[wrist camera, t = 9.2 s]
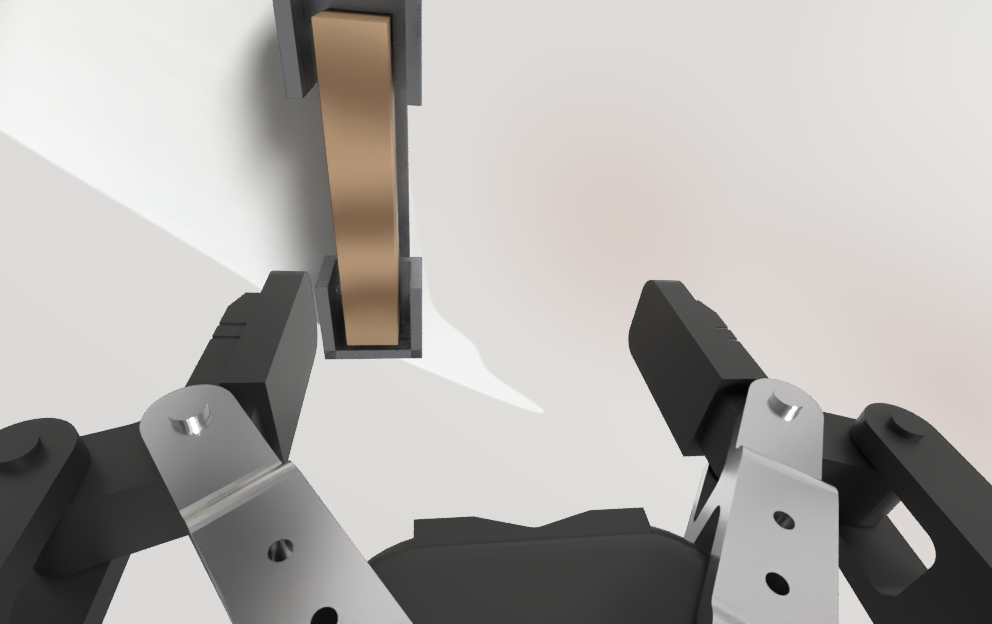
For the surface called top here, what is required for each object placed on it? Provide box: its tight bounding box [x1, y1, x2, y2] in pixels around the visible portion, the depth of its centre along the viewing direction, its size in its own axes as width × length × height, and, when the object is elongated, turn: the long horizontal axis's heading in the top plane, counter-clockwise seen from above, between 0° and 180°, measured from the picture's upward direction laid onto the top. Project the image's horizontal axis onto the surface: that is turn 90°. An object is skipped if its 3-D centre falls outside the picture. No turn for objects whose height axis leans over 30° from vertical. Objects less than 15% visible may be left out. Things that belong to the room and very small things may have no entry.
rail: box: [311, 8, 401, 345], centre depth 32 cm, size 20×4×5 cm, turn 175°
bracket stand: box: [273, 0, 422, 359], centre depth 34 cm, size 25×7×9 cm, turn 175°
